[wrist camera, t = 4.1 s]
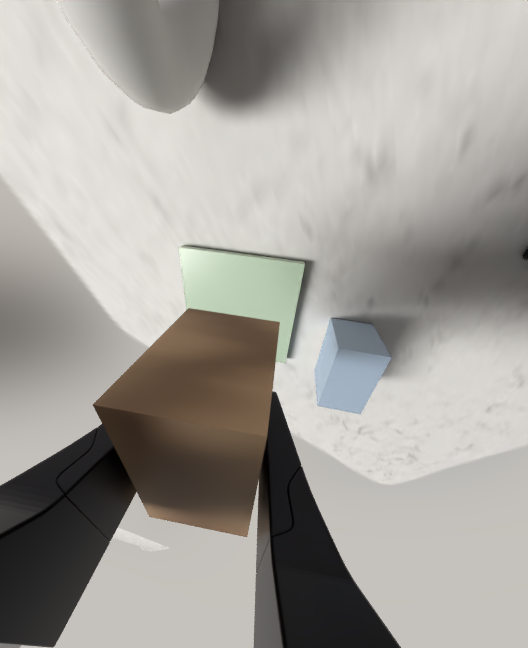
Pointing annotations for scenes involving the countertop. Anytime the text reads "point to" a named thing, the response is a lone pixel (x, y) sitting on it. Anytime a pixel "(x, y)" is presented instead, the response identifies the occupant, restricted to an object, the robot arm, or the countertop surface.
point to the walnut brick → (197, 419)
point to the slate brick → (349, 365)
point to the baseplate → (243, 287)
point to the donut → (148, 45)
